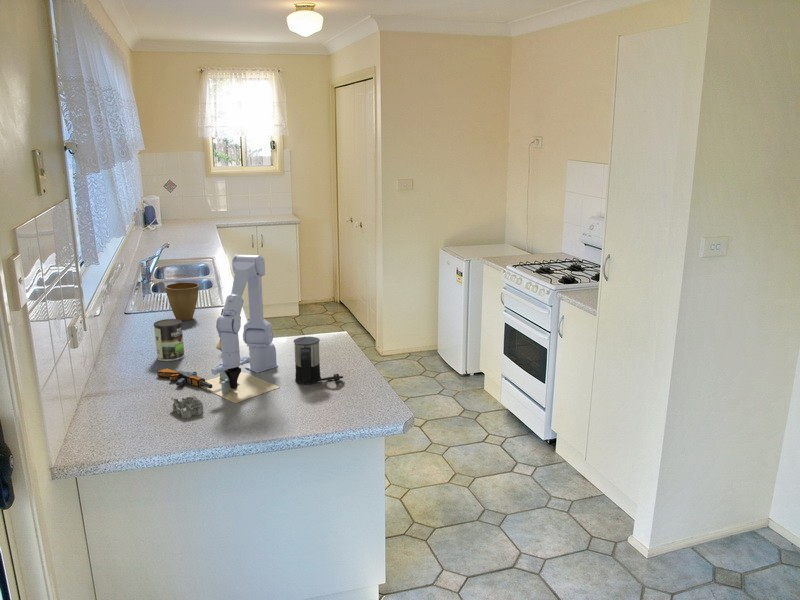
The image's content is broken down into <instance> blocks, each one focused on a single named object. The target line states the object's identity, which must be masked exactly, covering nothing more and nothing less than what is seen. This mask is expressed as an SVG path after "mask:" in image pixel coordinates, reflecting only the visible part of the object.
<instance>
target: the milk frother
mask: <svg viewBox="0 0 800 600" xmlns="http://www.w3.org/2000/svg"><path fill="white" fill-rule="evenodd" d="M320 341H321V340H320V338H319V337H315V336H301V337H297V338H295V339H294V340H293V343H294V362H295V373H294V374H295V375H294V376H295V378H294V381H295V382H296V383H298V384H300V385H301V384H302V385H312V384H313V385H314V384H317V383H319V382H322V381H324V382H325V381H331V380H333V381H334V382H339V381H340V380H341V379H344V376H343V375H339V373H335V374H333V375H332V376H328V377H323V378H322V377H321V363H320V360H321V359H320Z"/></svg>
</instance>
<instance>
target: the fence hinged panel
mask: <svg viewBox="0 0 800 600" xmlns="http://www.w3.org/2000/svg"><path fill="white" fill-rule="evenodd" d="M221 386H222V394H226V393H227V392H228V391H229V390H230V389H232V388H230V382H229V378H227V379H225V380H224V381H223V382H221Z"/></svg>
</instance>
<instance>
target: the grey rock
mask: <svg viewBox="0 0 800 600" xmlns="http://www.w3.org/2000/svg"><path fill="white" fill-rule="evenodd" d="M170 399H171V400H172V401H173V403H172V410H173V411H174V412H176V414H178V415H181V418H187V419H189V418H192V416H194V415H197V416H199V415H200V416H201V415H202V413H204V406H203V405H204V402H202V401H201V400H200V399H198V397H197V396H196V395H191V396H186V398H185V397H182V398H181V400H178V398H173V397H170Z"/></svg>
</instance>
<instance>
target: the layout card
mask: <svg viewBox="0 0 800 600" xmlns="http://www.w3.org/2000/svg"><path fill="white" fill-rule="evenodd" d="M205 381H206V382H207V383H209V384H212V387H213V388H207V387H205V386H201V387H200V388H202V389H204V390H206V391H208V392H211V393H212V394H214V395H217V396H219V397H221V398H223V399H224V400H228V401H229V402H231V403H233V404H237V403H240V402H243V401H245V400H249V399H251V398H255V397H257V396H260V395H263V394H265V393H268V392H272V391H275V390H277V389H280V386H278V385H276V384H273V383H271V382H268V381H266V380H263V379H261V378H258V377H256V376H254V375H251V374H249V373H247V372H244V371H242V370H241V373H240V374H239V377H238V380H237V389H230V390H229V391H228V392H227V393H226V394H222V386H221V382H223V381H224V380H222V379H220V376H217V377H214V378H211V379H207V380H205Z"/></svg>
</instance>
